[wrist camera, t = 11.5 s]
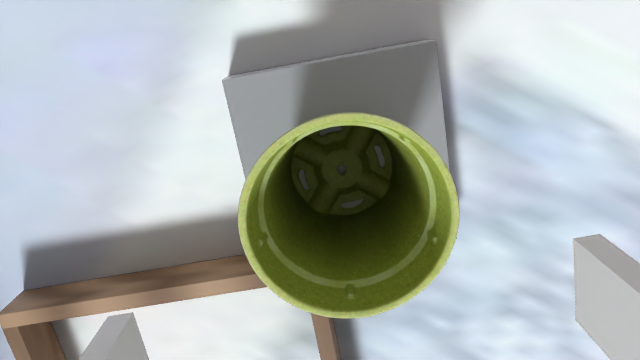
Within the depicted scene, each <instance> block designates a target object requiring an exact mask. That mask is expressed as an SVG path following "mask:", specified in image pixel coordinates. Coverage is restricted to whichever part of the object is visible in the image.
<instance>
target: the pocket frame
mask: <svg viewBox="0 0 640 360" xmlns="http://www.w3.org/2000/svg"><path fill="white" fill-rule="evenodd" d="M264 287H267V286H266V285H265V284H264V282H263V281H262V280H261V279H260V278H259V277H258V275H257V274H256V273H255V271H254V270H253V268H252V266H251V265H250V263H249V261H248V259H247V256H246V255H240V256H234V257H228V258H222V259H215V260H209V261H203V262H197V263H191V264H185V265H179V266H172V267H166V268H160V269H154V270H148V271H142V272H135V273H129V274H123V275H117V276H111V277H105V278H98V279H92V280H86V281H80V282H74V283H68V284H62V285H55V286H49V287H43V288H37V289H31V290H25V291H22V292H21V293H20V294H19V295H18V296H17V297H16V298H15V299H14V300H13V301H12V302H11V303H9V304H8V305H7V306H6V307H5V308H4V309H3V310H2V311H1V312H0V325H1V327H2V329H3V332H4V334H5V336H6V338H7V341H8V343H9V345H10V348H11V350H12V352H13V354H14V357H15V359H16V360H66V359H65V356H64V354H63V351H62V349H61V346H60V344H59V341H58V339H57V336H56V334H55V331H54V329H53V326H52V324H51V322H50V321H55V320H62V319H68V318H74V317H81V316H87V315H93V314H100V313H106V312H112V311H119V310H125V309H131V308H138V307H144V306H150V305H156V304H163V303H169V302H175V301H182V300H188V299H194V298H201V297H207V296H213V295H220V294H226V293H232V292H239V291H245V290H251V289H258V288H264ZM311 315H312V320H313V325H314V330H315V334H316V339H317V344H318V348H319V353H320V358H321V360H341V358H340V353H339V348H338V343H337V338H336V333H335V328H334V323H333V318H332V317H326V316H321V315H317V314H313V313H311Z"/></svg>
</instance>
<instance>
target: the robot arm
mask: <svg viewBox="0 0 640 360" xmlns="http://www.w3.org/2000/svg"><path fill="white" fill-rule="evenodd" d="M573 246H574V283H575V320H576V321H577V322H578V323H579V325H580V326H581V327H582V328H583V329H584V330H585V331H586V332H587V334H588V335H589V336H590V337H591V338H592V339H593V340H594V342H595V343H596V344H597V345H598V346H599V347H600V348H601V349H602V351H603V352H604V353H605V354H606V355H607V356H608V357H609V359H610V360H640V263H638V262H637V261H636V260H634V259H633V258H632V257H630V256H629V255H628V254H626V253H625V252H623V251H622V250H621V249H619V248H618V247H617V246H615V245H614V244H613V243H611V242H610V241H609V240H607V239H606V238H605V237H603V236H602V235H600V234H598V235H592V236H586V237H580V238H574V239H573ZM79 360H149V358H148V355H147V352H146V349H145V346H144V344H143V341H142V338H141V335H140V332H139V329H138V326H137V323H136V320H135V317H134V314H133V313H127V314H121V315H115V316H109V317H108V318H107V319H106V321H105V322H104V323H103V325H102V326H101V328H100V329H99V331H98V332H97V334H96V335H95V337H94V338H93V339H92V341H91V342H90V344H89V345H88V347H87V348H86V350H85V351H84V352H83V354H82V355H81V357H80V358H79Z"/></svg>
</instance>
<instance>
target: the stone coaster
mask: <svg viewBox="0 0 640 360" xmlns="http://www.w3.org/2000/svg"><path fill="white" fill-rule="evenodd" d="M222 83H223V87H224V91H225V95H226V99H227V104H228V108H229V112H230V116H231V120H232V125H233V129H234V133H235V137H236V141H237V146H238V150H239V154H240V158H241V162H242V167H243V171H244V175H245V179H246V178H247V176H248V174H249V173H250V171H251V169H252V167H253V166H254V164H255V163H256V161H257V160H258V158H259V157H260V156H261V155H262V153H263V152H264V151H265V150H266V149H267V148H268V147H269V146H270V145H271V144H272V143H273V142H274V141H276V140H277V139H278V138H279V137H280V136H282V135H283V134H285V133H286V132H288V131H289V130H291V129H292V128H294V127H296V126H298V125H300V124H302V123H304V122H306V121H309V120H311V119H314V118H317V117H320V116H324V115H328V114H334V113H343V112H361V113H369V114H375V115H379V116H383V117H386V118H389V119H392V120H395V121H397V122H399V123H401V124H403V125H405V126H407V127H409V128H410V129H412V130H414V131H415V132H416V133H418V134H419V135H420V136H422V137H423V138H424V139H425V140H426V141H427V142H429V143H430V144H431V145H432V146H433V147H434V148H435V150H436V151H437V152H438V153H439V155H440V156H441V158H442V159H443V160H444V162H445V164H446V166H447V167H448V169H449V160H448V150H447V141H446V131H445V121H444V112H443V102H442V92H441V83H440V73H439V63H438V54H437V44H436V41H435V40H431V39H426V40H421V41H416V42H410V43H405V44H399V45H394V46H388V47H383V48H378V49H372V50H367V51H361V52H356V53H350V54H345V55H340V56H334V57H329V58H323V59H318V60H312V61H307V62H302V63H296V64H291V65H285V66H280V67H274V68H269V69H263V70H258V71H253V72H247V73H242V74H236V75H231V76H227V77H226V78H224V79H223V80H222ZM341 130H342V127H340V126H335V127H330V128H325V129H322V130H321V131H320V132H319V136H321V137H322V136H324V135H326V134H328V133H332V132H337V131H341ZM374 149H375V151H376V153H377V156H378V160H379V166H380V167H384V165H385V158H384V156H383V155H382V152H381V148H380V147H379V146H377V145H376V146H375V147H374ZM449 171H450V170H449ZM338 172H339V173H340V174H343V173H345V172H346V168H345V166H342V165H341V166H339V167H338ZM299 178H300V180H301V183H302V185H303V187H304V189H306V190H309V189H310V188H309V186H308V184H307V181H306V178H305V173H304V170H303V169H302V170H300V172H299ZM363 200H364V199H361V200H356V201H352V202H348V203H343V204H342V207H344V208H352V207H355V206H357V205H359V204H360V203H362V201H363ZM456 239H457V238H456Z"/></svg>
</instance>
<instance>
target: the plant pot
mask: <svg viewBox="0 0 640 360" xmlns="http://www.w3.org/2000/svg"><path fill="white" fill-rule="evenodd" d="M335 126H340V127H342V130H341V131H337V132H332V133H328V134H326V135H324V136H322V137H321V136H319V132H320V131H321V130H322V129H325V128H330V127H335ZM376 145H377V146H379V147H380V148H381V152H382V155H383V156H384V158H385V165H384V167H380V166H379V160H378V156H377V153H376V151H375V149H374V147H375V146H376ZM341 165H342V166H345V168H346V172H345V173H343V174H340V173H339V172H338V167H339V166H341ZM302 169H303V170H304V173H305V178H306V181H307V184H308V186H309V188H310V189H309V190H306V189H304V187H303V185H302V183H301V180H300V178H299V172H300V170H302ZM361 199H364V200H363V201H362V203H360V204H359V205H357V206H355V207H352V208H344V207H342V204H343V203H348V202H352V201H356V200H361ZM458 226H459V201H458V195H457V191H456V187H455V184H454V181H453V178H452V175H451V173H450V171H449V169H448V167H447V166H446V164H445V162H444V160H443V159H442V158H441V156H440V155H439V153H438V152H437V151H436V150H435V148H434V147H433V146H432V145H431V144H430V143H429V142H427V141H426V140H425V139H424V138H423V137H422V136H420V135H419V134H418V133H416V132H415V131H414V130H412V129H410V128H409V127H407V126H405V125H403V124H401V123H399V122H397V121H395V120H392V119H389V118H386V117H383V116H379V115H375V114H369V113H361V112H343V113H334V114H328V115H324V116H320V117H317V118H314V119H311V120H309V121H306V122H304V123H302V124H300V125H298V126H296V127H294V128H292V129H291V130H289V131H288V132H286V133H285V134H283V135H282V136H280V137H279V138H278V139H277V140H276V141H274V142H273V143H272V144H271V145H270V146H269V147H268V148H267V149H266V150H265V151H264V152H263V153H262V155H261V156H260V157H259V158H258V160H257V161H256V163H255V164H254V166H253V167H252V169H251V171H250V173H249V174H248V176H247V178H246V181H245V183H244V186H243V189H242V192H241V196H240V200H239V208H238V228H239V234H240V239H241V243H242V246H243V249H244V252H245V254H246V256H247V259H248V261H249V263H250V265H251V266H252V268H253V270H254V271H255V273H256V274H257V275H258V277H259V278H260V279H261V280H262V281H263V282H264V284H265V285H266V286H267V287H268V288H269V289H270V290H272V291H273V292H274V293H275V294H276V295H278V296H279V297H280V298H282V299H284V300H285V301H286V302H288V303H290V304H292V305H293V306H295V307H298V308H300V309H302V310H304V311H307V312H310V313H313V314H317V315H321V316H326V317H332V318H361V317H368V316H373V315H377V314H380V313H383V312H385V311H388V310H391V309H393V308H396V307H398V306H400V305H402V304H404V303H406V302H407V301H409V300H410V299H412V298H413V297H414V296H416V295H417V294H419V293H420V292H421V291H422V290H424V289H425V288H426V287H427V286H428V285H429V284H430V283H431V282H432V281H433V280H434V279H435V278H436V276H437V275H438V274H439V273H440V271H441V270H442V268H443V267H444V265H445V264H446V262H447V260H448V258H449V256H450V254H451V251H452V249H453V246H454V243H455V240H456V236H457V232H458Z"/></svg>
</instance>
